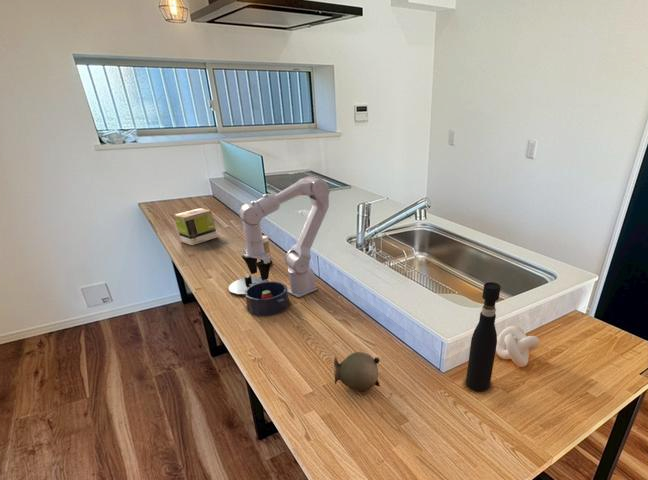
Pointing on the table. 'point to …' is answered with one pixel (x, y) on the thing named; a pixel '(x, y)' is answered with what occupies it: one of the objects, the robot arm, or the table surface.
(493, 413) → the table surface
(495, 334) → the black bottle
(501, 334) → the white decorative knot
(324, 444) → the table surface
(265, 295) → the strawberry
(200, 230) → the tea box
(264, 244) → the sprinkles bottle
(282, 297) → the pot
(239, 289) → the lid
